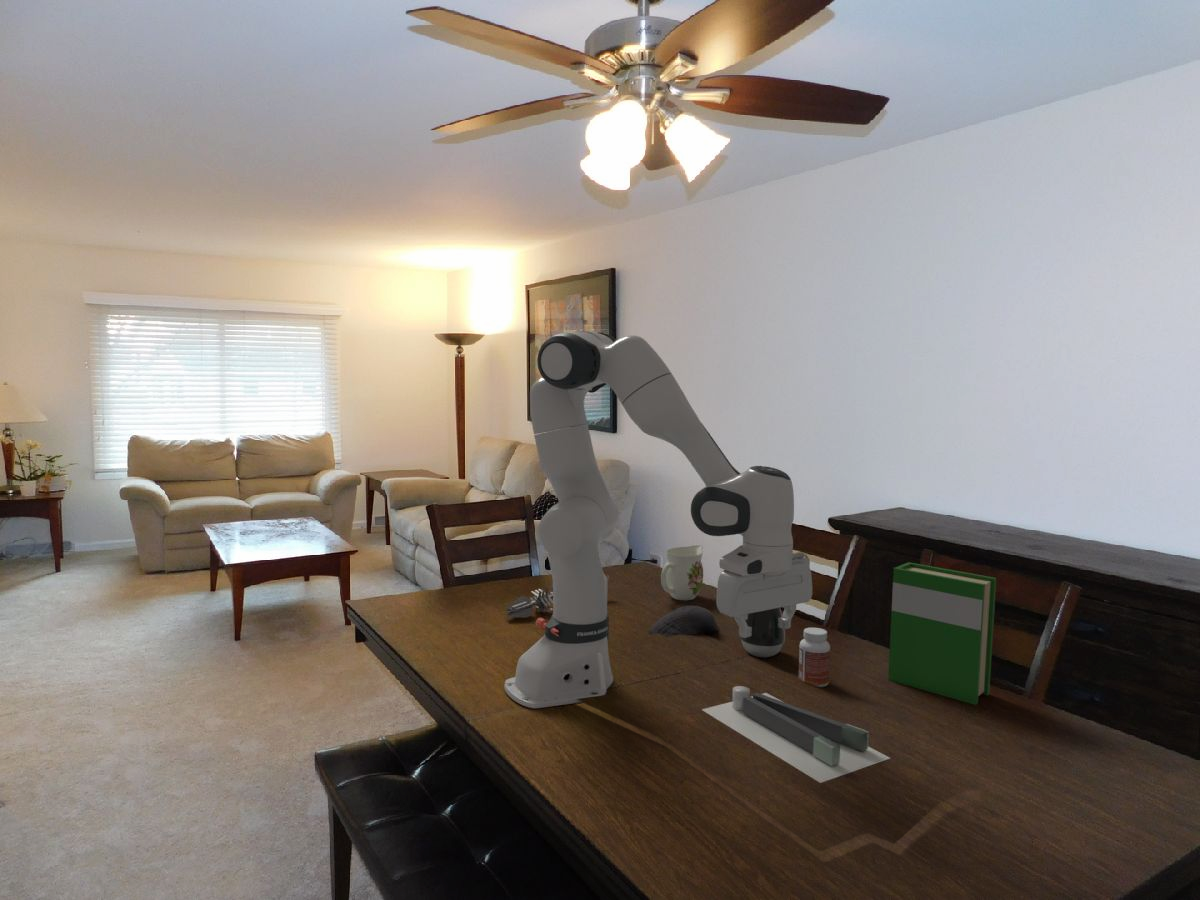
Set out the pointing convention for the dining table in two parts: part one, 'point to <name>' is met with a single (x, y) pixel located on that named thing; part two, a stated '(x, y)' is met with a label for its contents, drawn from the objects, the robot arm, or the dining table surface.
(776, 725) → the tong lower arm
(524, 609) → the spaceship
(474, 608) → the dining table surface
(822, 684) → the pill bottle
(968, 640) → the hardback book
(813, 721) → the tong upper arm
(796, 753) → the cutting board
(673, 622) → the seashell
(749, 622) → the black white egg-shaped piece
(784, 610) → the robot arm
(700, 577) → the pitcher
